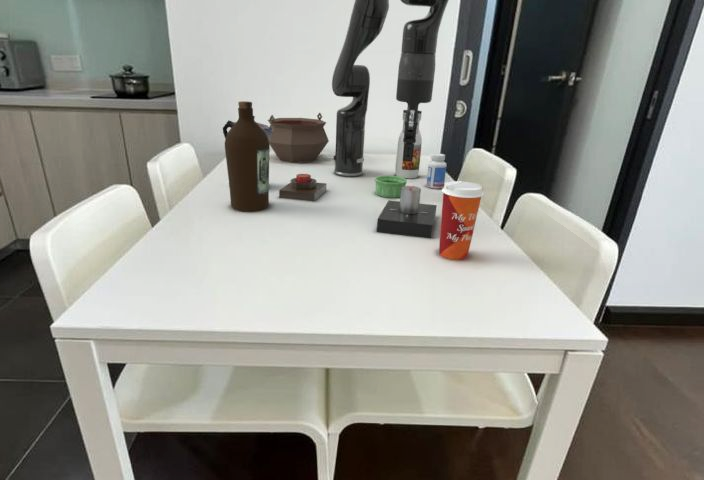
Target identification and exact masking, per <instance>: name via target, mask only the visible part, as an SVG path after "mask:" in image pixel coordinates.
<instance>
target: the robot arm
mask: <svg viewBox="0 0 704 480" xmlns="http://www.w3.org/2000/svg"><path fill="white" fill-rule="evenodd" d="M400 1H401V3H402V4H404V5H405V6H409V7H428V8H429V10H428V13H427V14H426V16H424V17H422V18H418V19H412V20H409V21H407V22H405V24H403V25H404V26H403V28H402V39H401V51H400V58H399V62H398V72H397V83H396V84H397V85H396V92H395V93H396V94H395V95H396V96H395V99H396V101H398V102H400V103H406V104H407V107H406V109H403V111H402V121H403V122H402V130H403V131H402V130H401V132H403V133H404V138H403V142H404V150H403V161H406V162H411V161H412V160H413V151H414V145H415V143H416V139H415V138H416V134H418V130H419V131H420V122H421V120H422V110H419V105H420V104H428V103H429V104H430V103H431V102H432V100H433V90H434V81H435V73H436V54H437V47H438V36H439V31H440V27H441V24H442V19H443V17H444V15H445V14H444V13H445V11H446V8H447V5H448V3H449V0H400ZM389 9H390V0H354V3H353V7H352V11H351V14H350V19H349V23H348V27H347V30H346V35H345V38H344V42H343V45H342V48H341V50H340V53H339V55H338V58H337V62H336V64H335V67H334V70H333V73H332V80H331V90H332V93H333V94H334V95H335V96H337V97H340V98H352V100H351V102H350V103H348V104H347V105H346V106H343V107H341V108H339V109H338V110H337V111H336V119H335V121H336V122H335V124H336V125H335V151H334V152H335V153H334V156H333V159H334V175H337V176H341V177H360V176H362V175H363V173H364V172H363V169H364V162H365V157H364V150H365V134H366V133H365V132H366V116H367V112H368V105H369V104H368V102H369V95H370V94H369V93H370V87H371V86H370V85H371V75H370V71H369V69H368V67H367V66H366V65H363V64H355V63H356V61H357V60H358V58H359V56H360V55H362V53H363V52H364V51H365V50H366V49H367V48H368V47H369V46H370V45H372V43H373V42H374V41H375V40H376V39H377V38H378V36H379V35H380V34H381V32H382V30H383V28H384V24H385V22H386V19H387V16H388V12H389Z"/></svg>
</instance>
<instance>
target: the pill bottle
mask: <svg viewBox="0 0 704 480" xmlns="http://www.w3.org/2000/svg"><path fill="white" fill-rule="evenodd" d="M430 159H431V161H429V162H428V165H427V173H426V184H425V185H426V187H427V188H429V189H435V190H436V189H437V190H438V189H439V190H440V189H443V188H444V186H445V184H446V173H447V162H445V160H446V154H444V153H431V158H430Z"/></svg>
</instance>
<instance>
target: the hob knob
mask: <svg viewBox="0 0 704 480" xmlns="http://www.w3.org/2000/svg"><path fill="white" fill-rule="evenodd" d="M421 192H422V188H421V187H418V186H414V185H405V186H403V187H402V188H401V197H400V209H399V211H400V212H401V213H404V214H417V213H418V211H419V203H420V202H421Z"/></svg>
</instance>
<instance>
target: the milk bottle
mask: <svg viewBox="0 0 704 480" xmlns="http://www.w3.org/2000/svg"><path fill="white" fill-rule="evenodd" d="M402 131H403V129H402V130H401V131H400V134H399V136H398V140H397V147H396V148H397V149H396V159H395V171H394V172H395V173H394V176H397V177H402V178H405V179H417V178H418V177H419V172H420V166H421V165H420V164H421V156H422V143H423V141H422V134H421V131H420V129H419V130H418V134H416V138H415V139H416V143H415V145H414V151H413V160H412V161H411V162H406V161H403V150H404V142H403V138H404V133H403V132H402Z"/></svg>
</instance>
